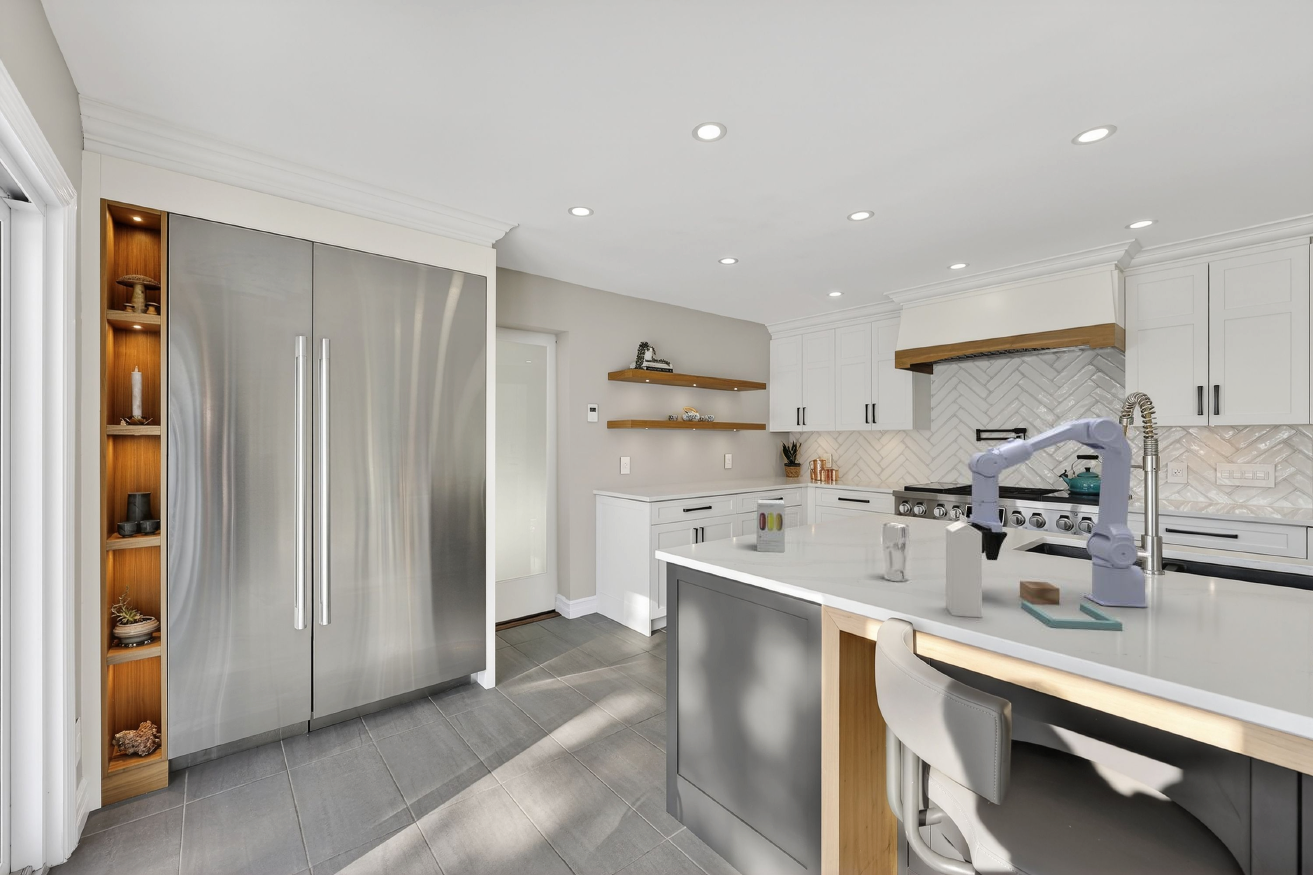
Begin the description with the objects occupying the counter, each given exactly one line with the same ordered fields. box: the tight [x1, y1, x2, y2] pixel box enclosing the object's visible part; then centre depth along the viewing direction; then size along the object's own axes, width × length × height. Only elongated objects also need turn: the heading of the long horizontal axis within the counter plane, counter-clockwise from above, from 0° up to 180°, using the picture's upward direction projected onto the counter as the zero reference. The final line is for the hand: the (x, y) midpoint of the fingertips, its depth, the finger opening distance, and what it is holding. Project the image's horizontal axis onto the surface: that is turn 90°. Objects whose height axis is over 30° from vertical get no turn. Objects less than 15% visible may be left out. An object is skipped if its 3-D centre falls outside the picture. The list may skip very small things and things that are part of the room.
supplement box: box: [756, 499, 786, 553], centre depth 198 cm, size 10×9×17 cm
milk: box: [945, 513, 983, 618], centre depth 129 cm, size 6×6×22 cm
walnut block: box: [1019, 580, 1060, 606], centre depth 138 cm, size 6×6×4 cm
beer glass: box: [881, 522, 911, 583], centre depth 158 cm, size 7×7×15 cm
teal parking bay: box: [1020, 600, 1123, 631], centre depth 125 cm, size 13×13×2 cm
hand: (985, 556), depth 141 cm, fingers open, 7 cm apart
